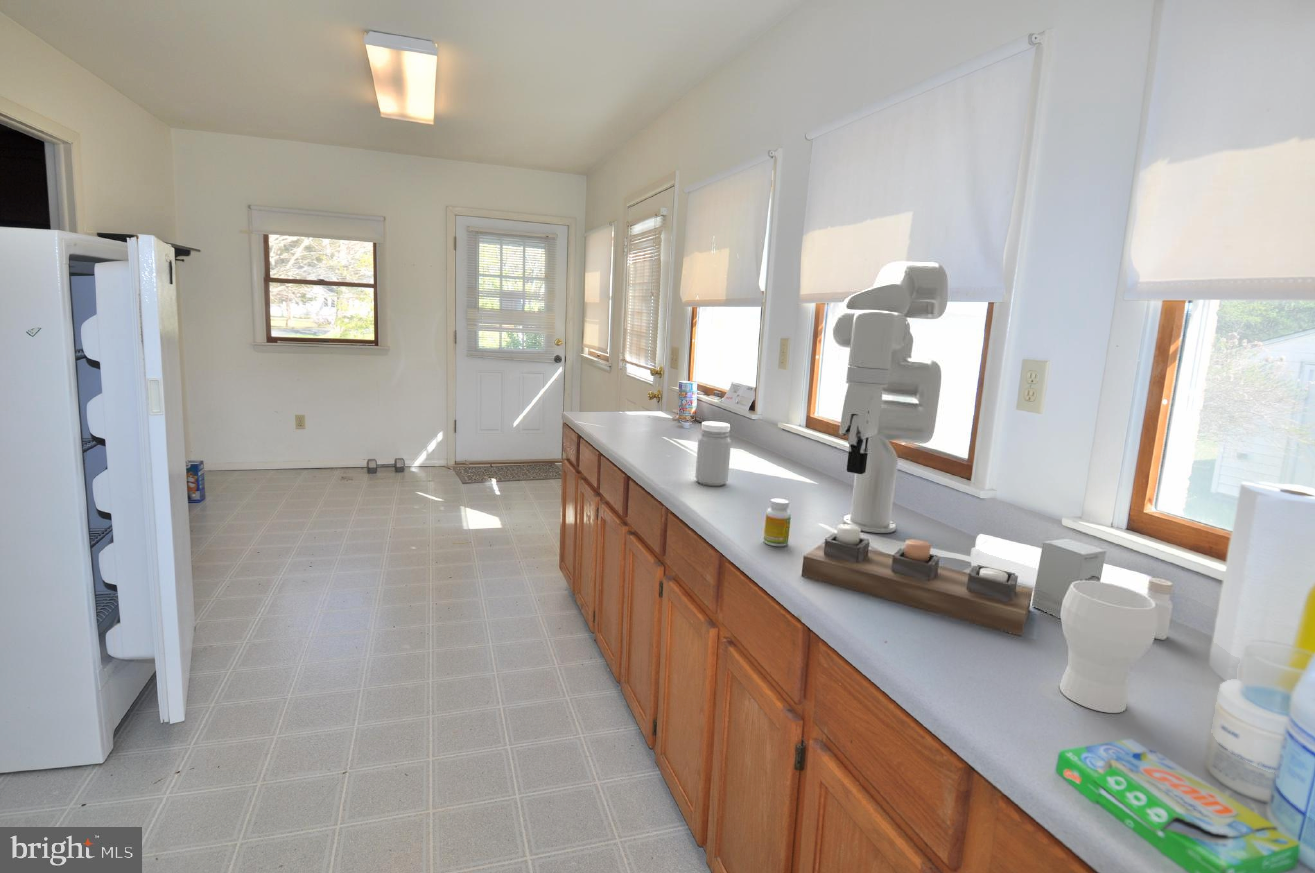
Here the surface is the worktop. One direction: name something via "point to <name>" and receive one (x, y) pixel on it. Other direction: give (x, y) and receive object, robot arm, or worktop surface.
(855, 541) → the off-white plunger
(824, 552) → the button board
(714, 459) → the jar
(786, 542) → the supplement bottle
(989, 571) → the off-white plunger
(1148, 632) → the cup
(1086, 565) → the supplement box
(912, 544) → the terracotta plunger
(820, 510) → the worktop surface
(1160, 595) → the pepper shaker
